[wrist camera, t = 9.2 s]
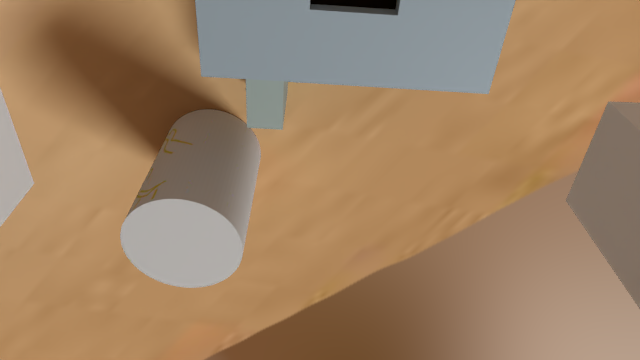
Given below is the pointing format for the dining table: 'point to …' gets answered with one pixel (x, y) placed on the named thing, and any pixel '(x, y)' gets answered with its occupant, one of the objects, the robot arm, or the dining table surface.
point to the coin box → (355, 42)
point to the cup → (195, 202)
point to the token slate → (266, 103)
